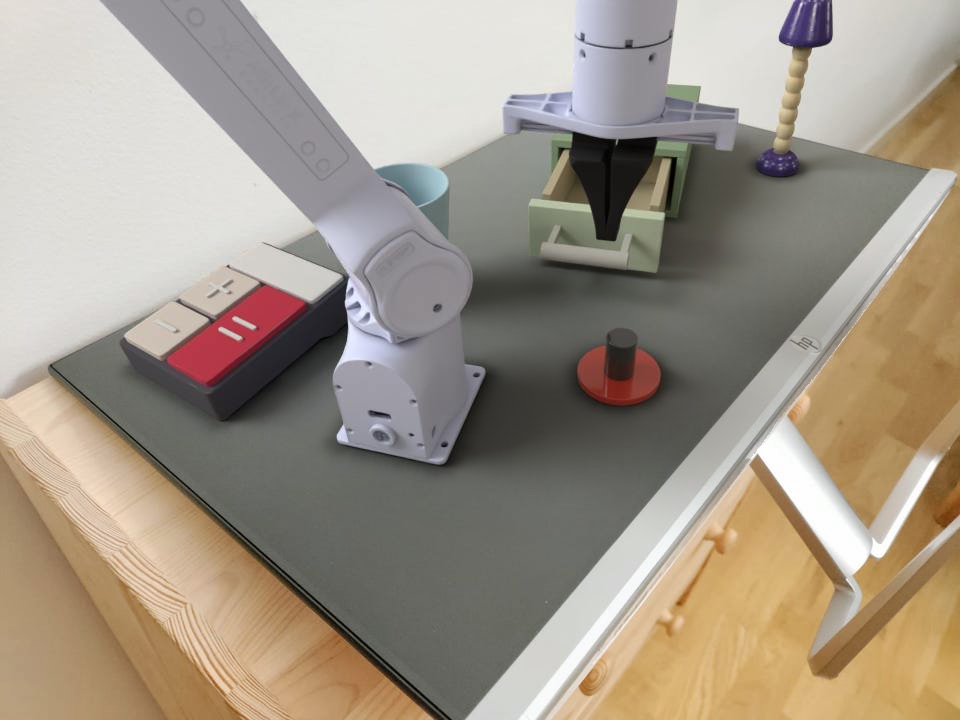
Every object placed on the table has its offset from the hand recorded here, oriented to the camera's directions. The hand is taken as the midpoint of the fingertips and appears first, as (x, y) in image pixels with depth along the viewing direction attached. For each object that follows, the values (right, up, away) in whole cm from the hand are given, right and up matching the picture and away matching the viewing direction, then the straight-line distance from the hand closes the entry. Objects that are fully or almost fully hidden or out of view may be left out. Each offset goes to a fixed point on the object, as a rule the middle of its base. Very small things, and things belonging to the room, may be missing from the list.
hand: (607, 233), depth 50 cm
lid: (+1, -10, +2) cm, 10 cm away
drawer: (+2, +3, +15) cm, 15 cm away
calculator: (-28, -8, +7) cm, 30 cm away
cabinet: (+6, +11, +25) cm, 27 cm away
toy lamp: (+22, +11, +24) cm, 35 cm away
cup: (-15, -4, +11) cm, 19 cm away
